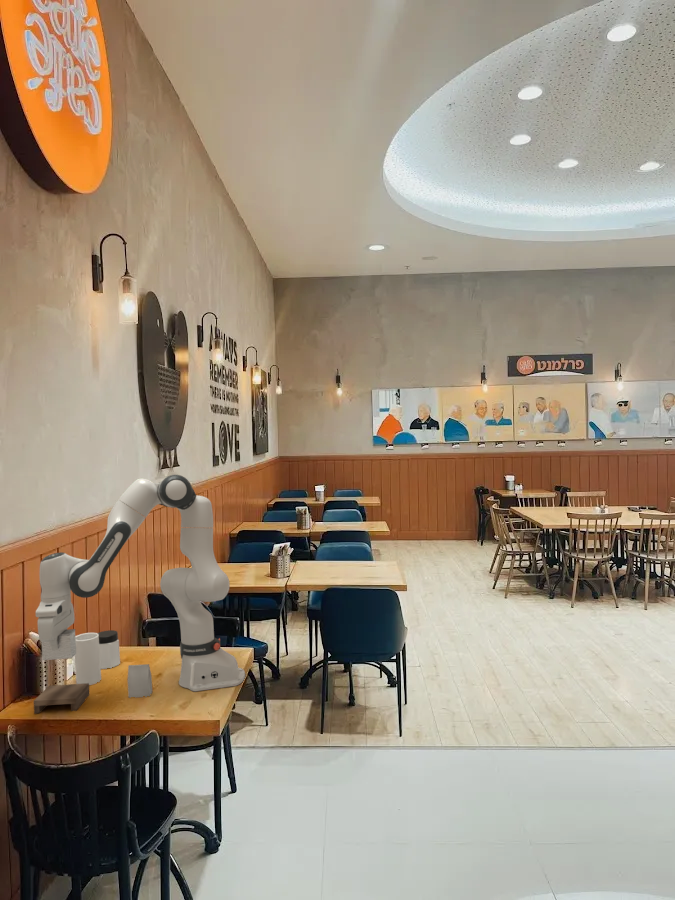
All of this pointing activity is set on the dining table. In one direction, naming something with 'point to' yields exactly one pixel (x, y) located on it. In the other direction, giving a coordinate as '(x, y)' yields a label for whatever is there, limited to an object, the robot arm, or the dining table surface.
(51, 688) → the walnut shelf
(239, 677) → the robot arm
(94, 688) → the dining table surface
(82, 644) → the cup
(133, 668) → the grey tapered block
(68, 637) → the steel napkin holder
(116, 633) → the jar
